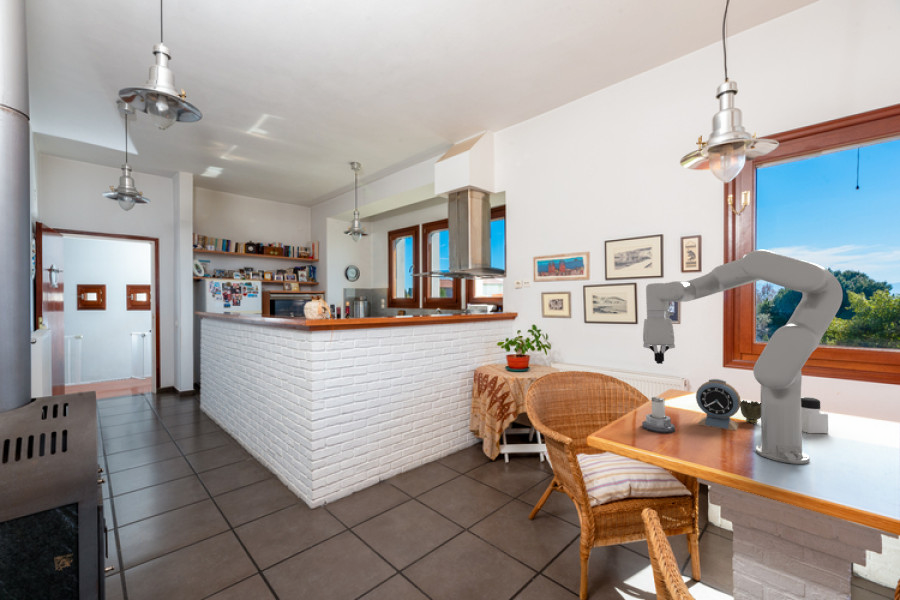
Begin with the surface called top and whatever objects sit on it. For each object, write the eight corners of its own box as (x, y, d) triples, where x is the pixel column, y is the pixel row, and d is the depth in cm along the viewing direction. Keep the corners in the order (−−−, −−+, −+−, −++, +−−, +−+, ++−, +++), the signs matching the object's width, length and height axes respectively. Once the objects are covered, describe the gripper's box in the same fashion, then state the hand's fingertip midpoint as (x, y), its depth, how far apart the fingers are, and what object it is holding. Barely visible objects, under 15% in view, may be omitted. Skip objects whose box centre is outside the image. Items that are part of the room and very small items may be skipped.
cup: (762, 421, 151) (761, 401, 151) (765, 426, 145) (765, 405, 145) (738, 418, 155) (738, 399, 155) (741, 423, 149) (740, 403, 149)
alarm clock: (694, 423, 150) (693, 379, 150) (699, 418, 157) (698, 375, 157) (739, 431, 140) (738, 383, 140) (742, 425, 147) (741, 379, 147)
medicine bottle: (828, 433, 136) (828, 400, 136) (808, 433, 136) (807, 400, 136) (810, 427, 143) (809, 395, 143) (791, 427, 143) (790, 395, 144)
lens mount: (678, 434, 138) (677, 422, 138) (644, 431, 141) (644, 419, 141) (671, 425, 148) (671, 413, 148) (640, 422, 152) (640, 411, 152)
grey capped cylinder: (666, 426, 142) (665, 400, 142) (653, 425, 143) (652, 399, 143) (663, 423, 146) (663, 397, 146) (651, 422, 147) (650, 396, 148)
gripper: (677, 314, 146) (679, 362, 146) (635, 315, 151) (636, 361, 150) (682, 315, 139) (684, 365, 139) (637, 315, 144) (639, 364, 143)
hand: (659, 363), depth 144 cm, fingers closed
